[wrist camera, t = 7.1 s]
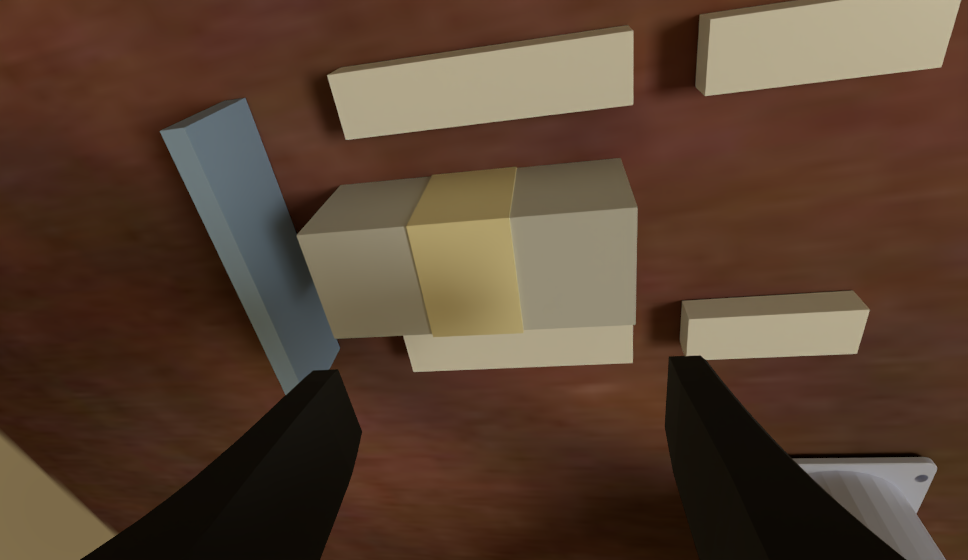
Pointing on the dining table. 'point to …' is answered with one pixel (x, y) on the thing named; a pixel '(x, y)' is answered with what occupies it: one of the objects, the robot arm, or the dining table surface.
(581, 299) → the banded cream box
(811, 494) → the robot arm
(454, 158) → the dining table surface
